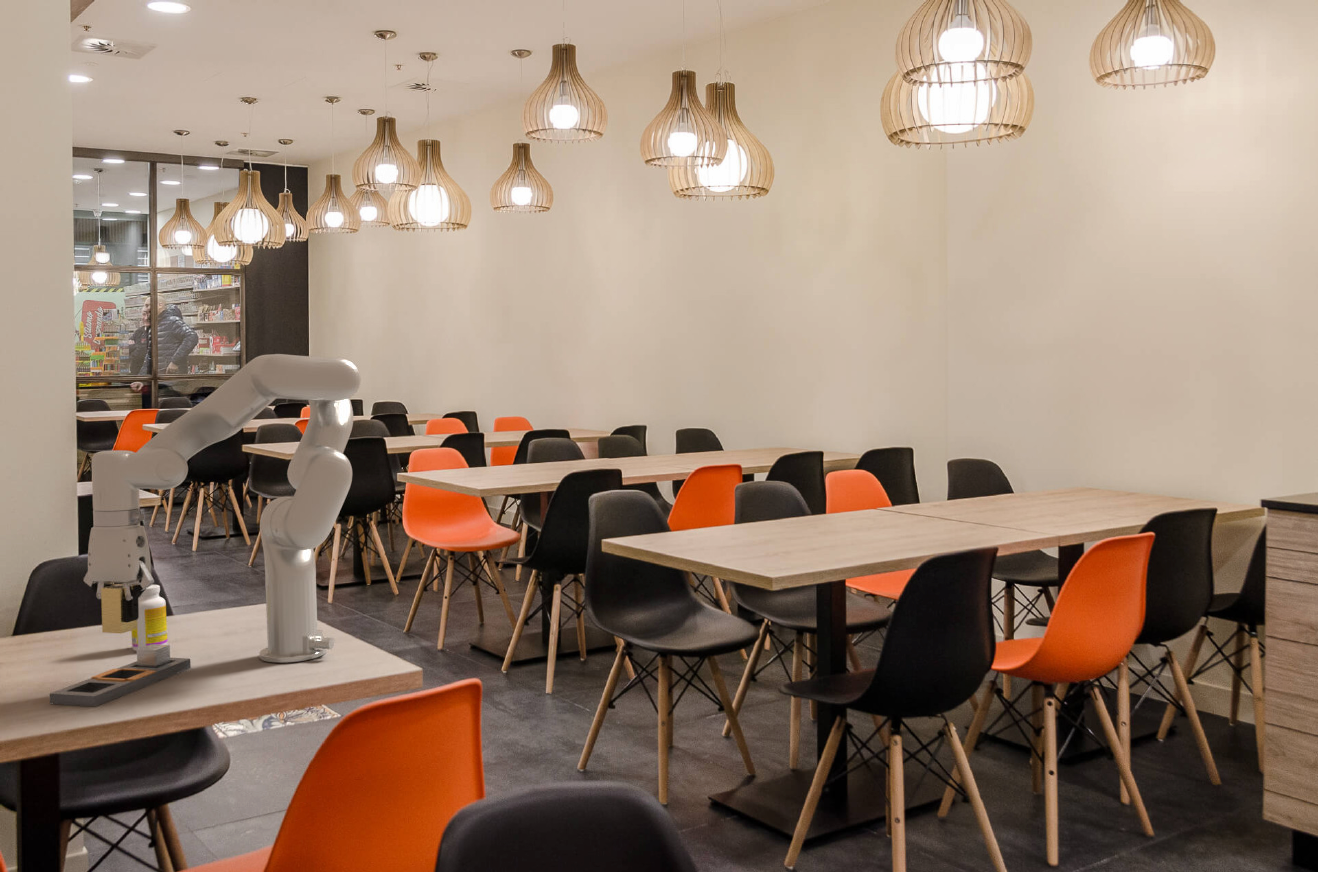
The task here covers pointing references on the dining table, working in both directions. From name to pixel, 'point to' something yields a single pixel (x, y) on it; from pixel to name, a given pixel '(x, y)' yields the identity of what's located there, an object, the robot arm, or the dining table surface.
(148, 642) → the supplement bottle
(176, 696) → the dining table surface
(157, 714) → the dining table surface
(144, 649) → the block
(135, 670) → the rail
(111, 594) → the brass nut
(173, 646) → the dining table surface
